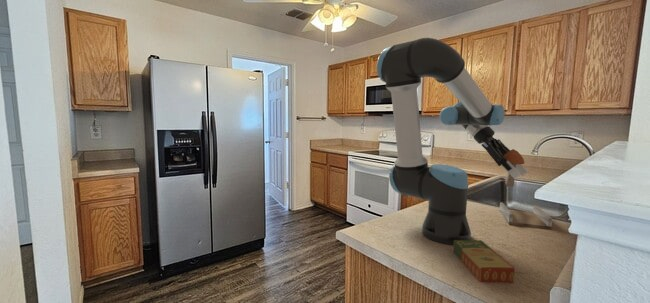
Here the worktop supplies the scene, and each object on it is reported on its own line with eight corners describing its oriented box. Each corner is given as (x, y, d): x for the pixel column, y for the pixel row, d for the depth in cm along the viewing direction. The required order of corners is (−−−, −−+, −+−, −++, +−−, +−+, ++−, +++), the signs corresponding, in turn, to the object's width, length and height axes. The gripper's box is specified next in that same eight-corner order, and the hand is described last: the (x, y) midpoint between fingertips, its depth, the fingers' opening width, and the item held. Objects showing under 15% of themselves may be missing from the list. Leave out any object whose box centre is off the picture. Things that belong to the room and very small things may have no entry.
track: (508, 224, 105) (509, 214, 104) (499, 211, 120) (500, 202, 119) (551, 229, 100) (552, 218, 100) (535, 215, 115) (536, 205, 115)
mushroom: (517, 184, 115) (520, 148, 113) (526, 189, 107) (530, 150, 105) (495, 183, 116) (498, 147, 114) (502, 188, 109) (506, 149, 107)
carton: (478, 283, 68) (479, 266, 67) (452, 252, 84) (452, 238, 83) (514, 284, 67) (515, 267, 67) (480, 252, 83) (481, 239, 83)
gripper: (483, 136, 128) (522, 177, 117) (462, 138, 115) (502, 184, 104) (497, 125, 123) (538, 166, 112) (476, 125, 110) (520, 172, 100)
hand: (521, 175), depth 108 cm, fingers closed on mushroom, 8 cm apart
